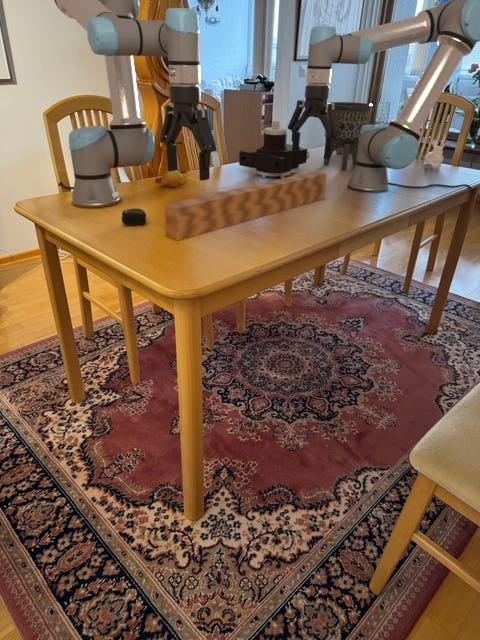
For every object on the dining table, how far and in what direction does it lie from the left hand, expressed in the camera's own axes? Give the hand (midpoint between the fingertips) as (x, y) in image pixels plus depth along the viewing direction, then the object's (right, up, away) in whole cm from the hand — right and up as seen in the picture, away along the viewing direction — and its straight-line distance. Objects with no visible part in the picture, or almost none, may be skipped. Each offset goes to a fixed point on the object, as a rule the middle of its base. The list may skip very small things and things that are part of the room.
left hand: (188, 175), depth 121 cm
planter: (+61, +33, +90) cm, 113 cm away
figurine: (+103, +31, +90) cm, 140 cm away
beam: (+19, -5, +24) cm, 31 cm away
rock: (+71, +50, +121) cm, 149 cm away
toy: (-11, +13, +54) cm, 57 cm away
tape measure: (-17, -11, +13) cm, 24 cm away
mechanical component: (+31, +25, +76) cm, 86 cm away
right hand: (+38, +17, +32) cm, 52 cm away
